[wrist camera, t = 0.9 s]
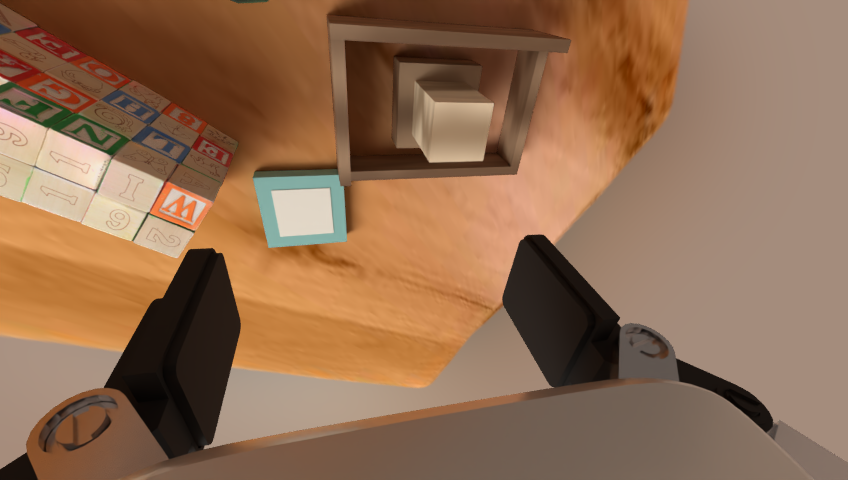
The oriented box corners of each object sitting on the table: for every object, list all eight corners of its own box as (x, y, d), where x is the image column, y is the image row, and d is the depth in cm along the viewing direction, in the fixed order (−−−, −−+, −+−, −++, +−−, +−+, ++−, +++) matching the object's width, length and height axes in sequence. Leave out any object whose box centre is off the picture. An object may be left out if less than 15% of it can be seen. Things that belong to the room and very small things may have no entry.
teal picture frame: (254, 171, 37) (252, 178, 36) (342, 168, 39) (343, 175, 38) (270, 240, 42) (268, 248, 41) (346, 234, 44) (347, 241, 43)
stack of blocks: (-100, 35, 25) (-352, 72, 16) (-83, -47, 23) (-359, -62, 14) (212, 187, 37) (177, 261, 27) (241, 141, 35) (214, 204, 25)
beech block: (414, 80, 32) (435, 102, 27) (465, 82, 34) (494, 103, 28) (411, 133, 35) (429, 162, 30) (458, 133, 37) (483, 161, 31)
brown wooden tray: (326, 14, 30) (329, 23, 25) (531, 29, 35) (571, 39, 30) (337, 164, 39) (341, 195, 33) (502, 160, 43) (529, 186, 38)
